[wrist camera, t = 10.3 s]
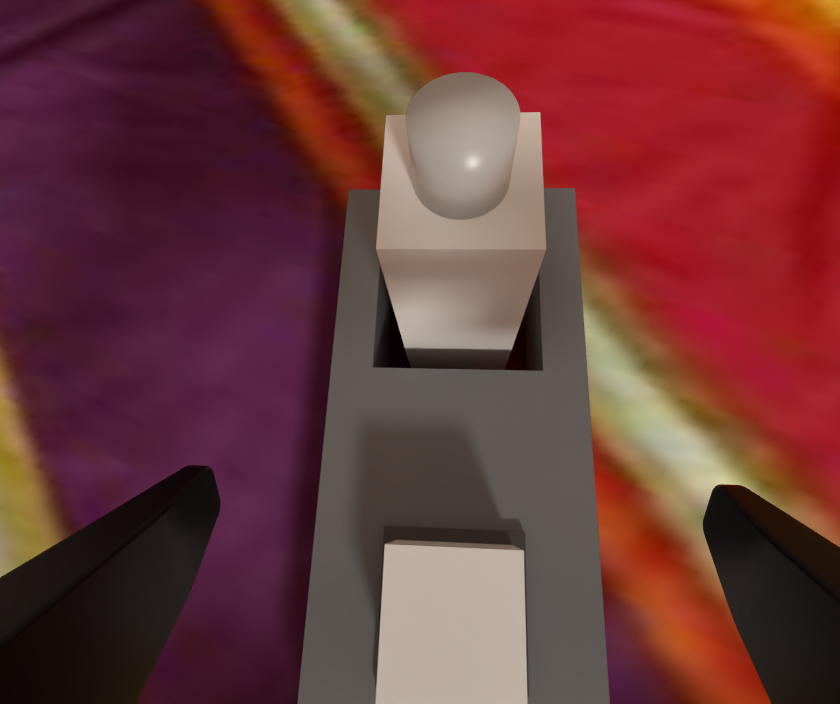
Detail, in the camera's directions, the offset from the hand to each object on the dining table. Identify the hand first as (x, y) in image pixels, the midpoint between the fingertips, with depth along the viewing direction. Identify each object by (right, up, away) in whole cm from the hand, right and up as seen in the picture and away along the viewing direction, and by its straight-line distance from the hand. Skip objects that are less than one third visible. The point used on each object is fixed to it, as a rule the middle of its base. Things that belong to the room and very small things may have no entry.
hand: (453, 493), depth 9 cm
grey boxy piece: (+1, -2, +11) cm, 12 cm away
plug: (+1, +4, +13) cm, 14 cm away
